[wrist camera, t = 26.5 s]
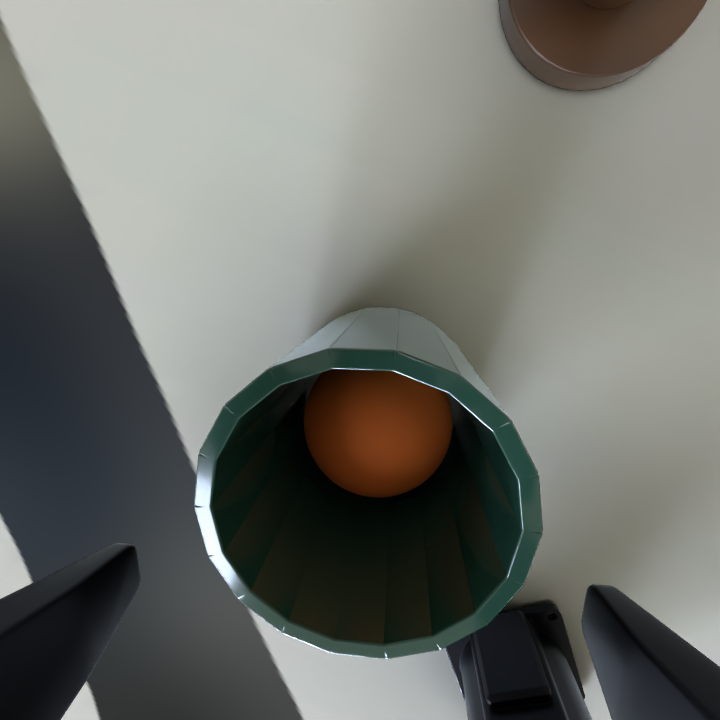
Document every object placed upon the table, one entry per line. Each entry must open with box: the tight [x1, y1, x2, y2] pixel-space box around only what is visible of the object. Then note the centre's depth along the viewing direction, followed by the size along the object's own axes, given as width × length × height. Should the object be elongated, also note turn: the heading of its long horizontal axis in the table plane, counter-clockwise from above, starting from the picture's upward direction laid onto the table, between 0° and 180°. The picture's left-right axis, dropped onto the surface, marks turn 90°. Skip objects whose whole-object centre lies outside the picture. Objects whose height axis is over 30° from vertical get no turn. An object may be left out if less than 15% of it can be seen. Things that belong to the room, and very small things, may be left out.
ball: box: [304, 369, 453, 498], centre depth 16 cm, size 6×6×6 cm
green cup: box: [194, 307, 543, 659], centre depth 14 cm, size 9×9×10 cm
